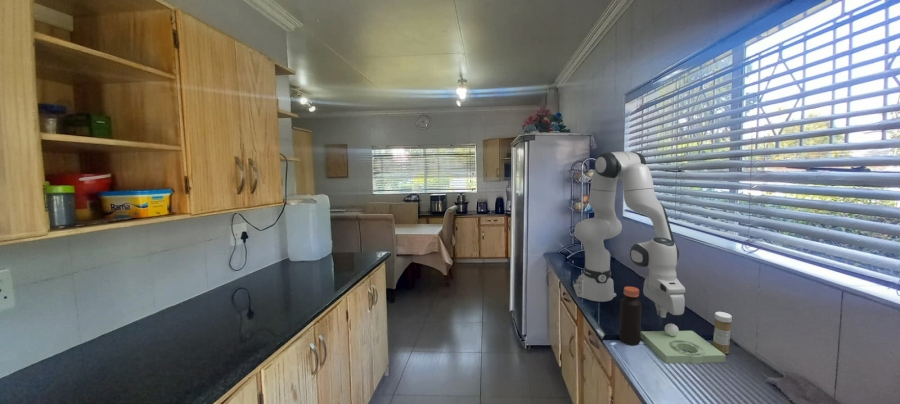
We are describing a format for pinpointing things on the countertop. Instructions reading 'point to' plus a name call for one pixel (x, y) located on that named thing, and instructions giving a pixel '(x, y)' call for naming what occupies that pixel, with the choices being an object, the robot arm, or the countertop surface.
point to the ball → (671, 329)
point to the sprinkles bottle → (722, 331)
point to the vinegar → (630, 317)
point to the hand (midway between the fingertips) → (661, 316)
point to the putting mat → (682, 347)
